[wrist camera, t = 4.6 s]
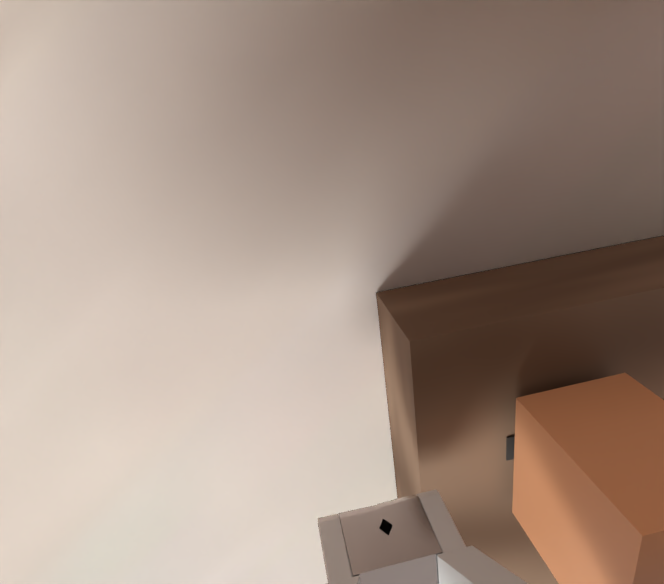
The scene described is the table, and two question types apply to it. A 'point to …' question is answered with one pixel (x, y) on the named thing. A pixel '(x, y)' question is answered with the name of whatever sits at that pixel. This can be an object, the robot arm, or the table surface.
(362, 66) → the table surface
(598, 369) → the console
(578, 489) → the orange fader
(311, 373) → the table surface
